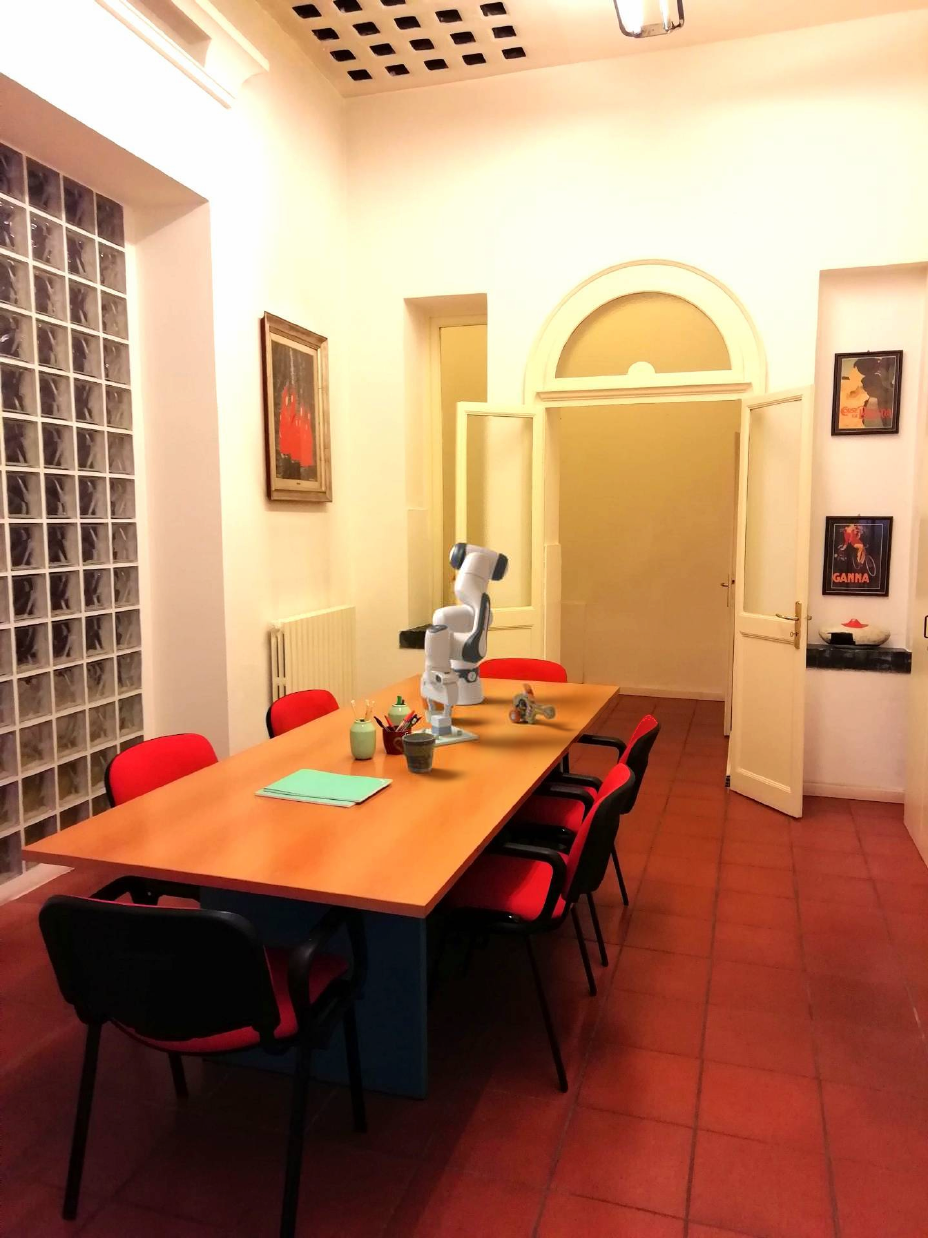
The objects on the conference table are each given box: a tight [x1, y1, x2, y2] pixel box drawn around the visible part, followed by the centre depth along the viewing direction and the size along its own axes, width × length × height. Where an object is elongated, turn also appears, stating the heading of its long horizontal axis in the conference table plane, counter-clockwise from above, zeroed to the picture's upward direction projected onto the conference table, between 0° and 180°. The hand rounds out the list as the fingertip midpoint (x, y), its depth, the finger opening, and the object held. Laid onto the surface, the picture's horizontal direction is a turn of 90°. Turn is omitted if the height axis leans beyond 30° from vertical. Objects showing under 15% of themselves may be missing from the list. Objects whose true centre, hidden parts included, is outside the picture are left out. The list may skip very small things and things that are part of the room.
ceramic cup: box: [393, 733, 436, 774], centre depth 260 cm, size 13×10×10 cm
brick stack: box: [430, 714, 452, 736], centre depth 297 cm, size 5×5×6 cm
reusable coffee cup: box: [421, 695, 454, 724], centre depth 320 cm, size 12×13×15 cm
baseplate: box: [412, 725, 479, 747], centre depth 297 cm, size 18×18×2 cm
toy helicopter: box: [508, 683, 556, 725], centre depth 311 cm, size 8×21×14 cm, turn 38°
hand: (439, 713), depth 297 cm, fingers open, 8 cm apart
